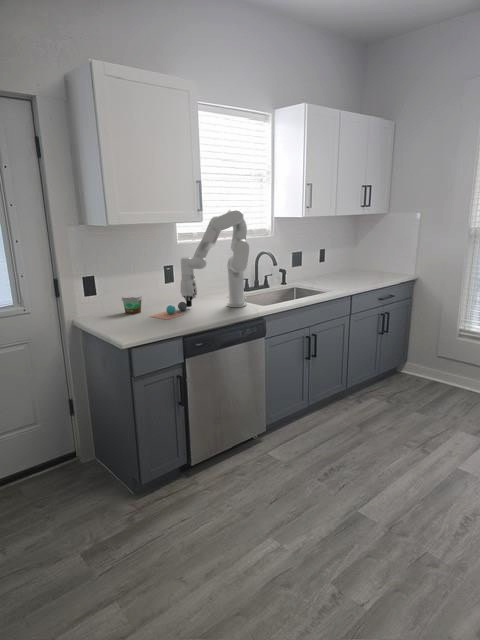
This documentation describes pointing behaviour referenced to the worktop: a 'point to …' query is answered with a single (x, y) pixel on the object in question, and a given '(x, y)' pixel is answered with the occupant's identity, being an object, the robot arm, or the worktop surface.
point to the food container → (132, 305)
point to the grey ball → (182, 306)
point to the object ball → (170, 309)
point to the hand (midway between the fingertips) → (189, 306)
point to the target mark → (166, 315)
